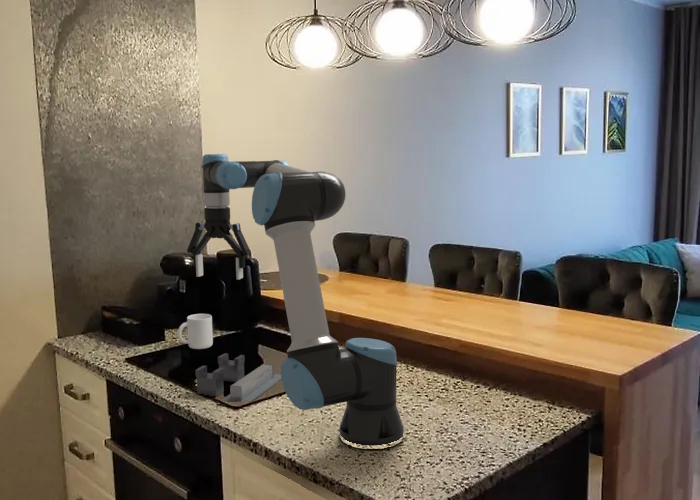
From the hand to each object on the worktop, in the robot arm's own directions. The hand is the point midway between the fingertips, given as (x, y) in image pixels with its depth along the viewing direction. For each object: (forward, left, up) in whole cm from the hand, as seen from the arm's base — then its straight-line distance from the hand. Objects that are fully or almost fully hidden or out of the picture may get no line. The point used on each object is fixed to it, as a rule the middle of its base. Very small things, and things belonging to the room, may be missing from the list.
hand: (219, 277), depth 207 cm
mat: (-13, -17, -29) cm, 36 cm away
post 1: (-19, -7, -29) cm, 35 cm away
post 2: (-7, -7, -29) cm, 30 cm away
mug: (+18, +21, -29) cm, 40 cm away
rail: (-13, -17, -28) cm, 36 cm away
